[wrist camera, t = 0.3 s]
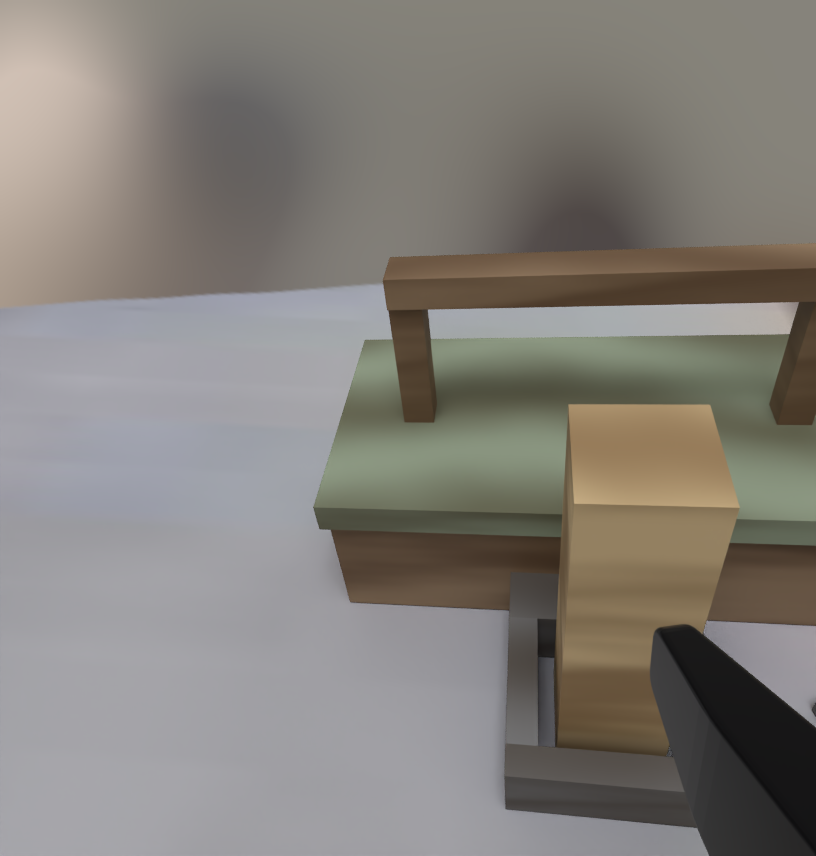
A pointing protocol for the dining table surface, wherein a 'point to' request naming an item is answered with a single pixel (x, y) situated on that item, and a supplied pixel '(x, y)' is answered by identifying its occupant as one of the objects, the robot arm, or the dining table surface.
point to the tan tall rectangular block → (633, 562)
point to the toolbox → (545, 465)
